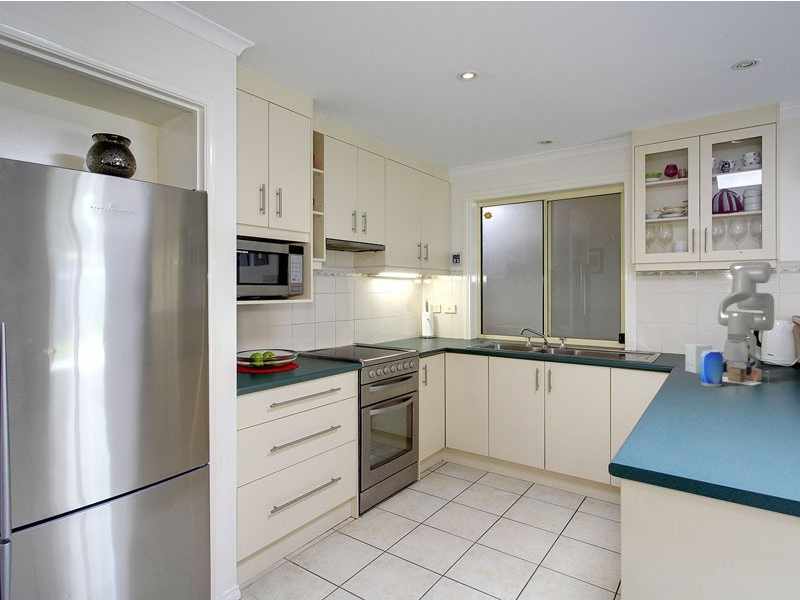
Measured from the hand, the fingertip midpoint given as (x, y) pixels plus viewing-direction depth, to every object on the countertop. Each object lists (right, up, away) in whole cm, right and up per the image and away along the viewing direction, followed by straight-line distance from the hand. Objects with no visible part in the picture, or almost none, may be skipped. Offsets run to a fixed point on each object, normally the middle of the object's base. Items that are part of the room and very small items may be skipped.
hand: (736, 373), depth 217 cm
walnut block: (0, -4, 0) cm, 4 cm away
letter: (0, -4, 0) cm, 4 cm away
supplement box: (-3, -3, +23) cm, 24 cm away
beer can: (-18, -4, -9) cm, 21 cm away
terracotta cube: (+10, -4, +3) cm, 12 cm away
